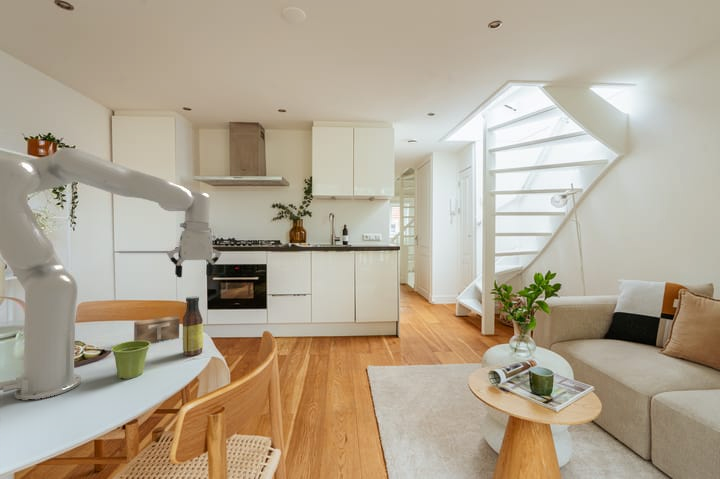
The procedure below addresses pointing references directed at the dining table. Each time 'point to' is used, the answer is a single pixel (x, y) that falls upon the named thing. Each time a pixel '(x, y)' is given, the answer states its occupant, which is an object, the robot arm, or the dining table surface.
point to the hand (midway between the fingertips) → (194, 276)
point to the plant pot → (130, 358)
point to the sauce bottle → (192, 328)
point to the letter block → (157, 329)
